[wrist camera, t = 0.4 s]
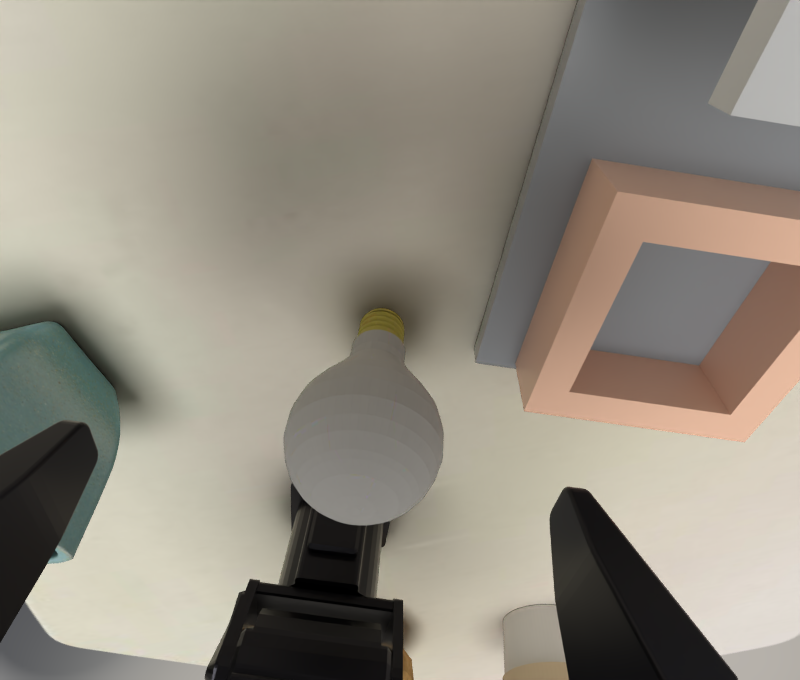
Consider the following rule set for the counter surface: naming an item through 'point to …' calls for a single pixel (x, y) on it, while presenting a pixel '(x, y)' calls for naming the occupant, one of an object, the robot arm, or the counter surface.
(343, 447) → the light bulb
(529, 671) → the coffee cup
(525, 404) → the socket stand
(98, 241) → the counter surface
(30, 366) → the flower pot
